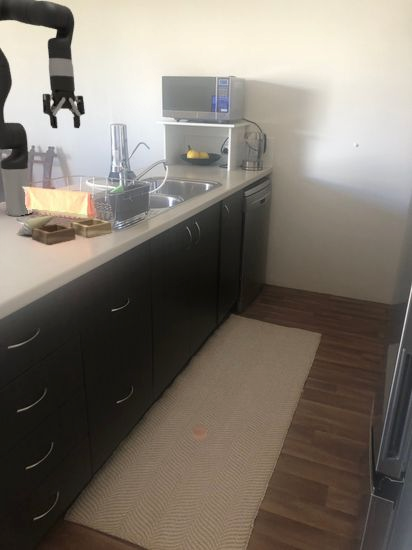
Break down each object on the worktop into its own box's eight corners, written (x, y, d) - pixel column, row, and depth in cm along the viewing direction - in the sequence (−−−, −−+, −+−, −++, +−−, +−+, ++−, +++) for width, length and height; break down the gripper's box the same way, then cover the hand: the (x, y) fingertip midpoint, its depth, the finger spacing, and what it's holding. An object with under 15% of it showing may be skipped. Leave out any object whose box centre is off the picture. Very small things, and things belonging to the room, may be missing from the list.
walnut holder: (32, 239, 136) (31, 228, 135) (58, 233, 143) (57, 223, 142) (49, 244, 131) (48, 233, 130) (75, 238, 138) (74, 228, 137)
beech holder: (71, 232, 145) (70, 222, 144) (94, 227, 152) (93, 218, 150) (88, 237, 139) (87, 227, 138) (111, 232, 146) (110, 222, 145)
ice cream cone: (60, 225, 139) (23, 242, 143) (57, 211, 140) (20, 228, 144) (51, 220, 134) (12, 238, 138) (47, 206, 136) (9, 224, 139)
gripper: (73, 77, 146) (77, 127, 152) (35, 73, 135) (40, 127, 141) (87, 76, 142) (90, 128, 147) (48, 72, 131) (53, 128, 137)
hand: (66, 128), depth 144 cm, fingers open, 8 cm apart
